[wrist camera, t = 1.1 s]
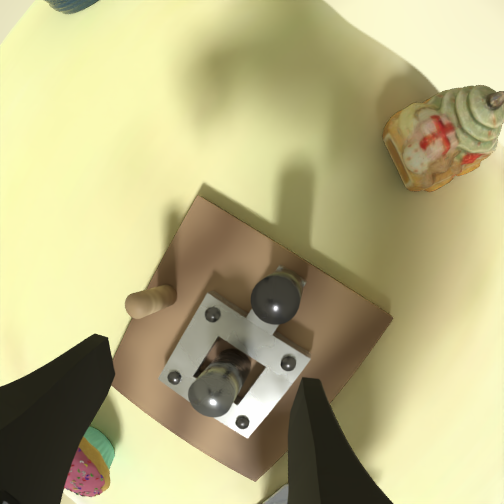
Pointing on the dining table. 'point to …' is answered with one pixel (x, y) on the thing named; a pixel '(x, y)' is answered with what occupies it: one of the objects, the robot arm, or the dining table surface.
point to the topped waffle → (444, 135)
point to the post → (220, 383)
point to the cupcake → (91, 465)
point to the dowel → (150, 301)
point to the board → (239, 293)
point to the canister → (70, 5)
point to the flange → (245, 346)
